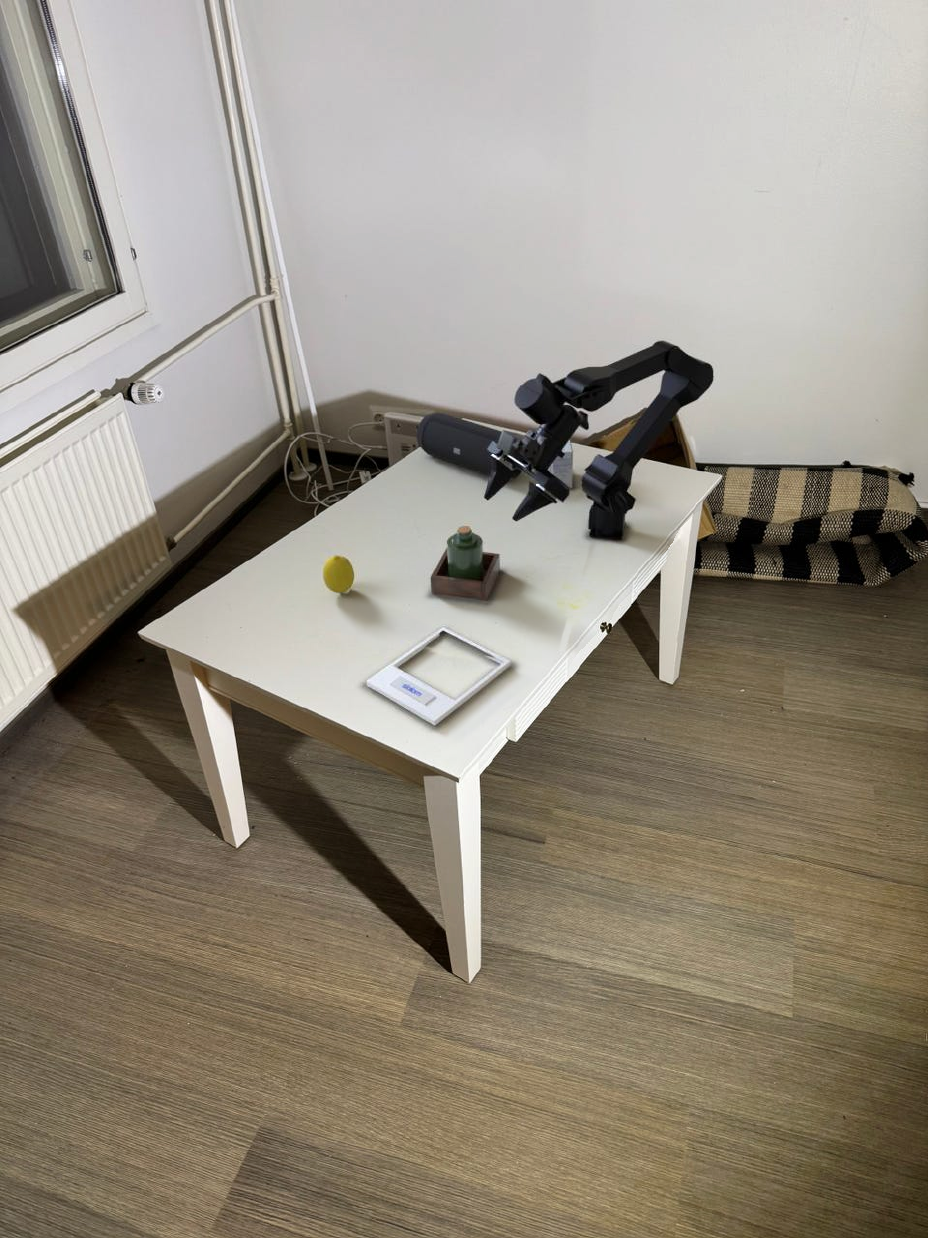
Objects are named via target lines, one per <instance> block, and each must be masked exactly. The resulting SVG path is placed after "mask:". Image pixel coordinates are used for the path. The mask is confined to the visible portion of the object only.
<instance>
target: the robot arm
mask: <svg viewBox="0 0 928 1238" xmlns="http://www.w3.org/2000/svg"><path fill="white" fill-rule="evenodd" d="M661 372H664V373H663V374H662V376H661V382H660V389H659V392H658V394H657V395H656V396H655V397H654V398H653V400H652V401H651V403H650V404H649V405H648V407H647V408H646V409H645V410H644V412H643V413H642V414H641V416H640V417H639V418H638V419H637V421H636V422H635V423H634V425H633V426H632V427H631V428H630V429H629V431H628V432H627V433H626V435H624V438H623V439H622V440H621V441H620V442H619V444H618V445H617V447H616V448H615V449H614V450H613V452H612V453H609V454H607V455H606V456H603V455H602V454H600V453H598V454H597V455H595V456H594V458H593V459H592V461H591V462H590V464H589V465H588V466H586V468H584V474H583V475H582V477H581V479H580V481H581V485H580V486H581V491H582V492H583V493H584V494H585V496H586V499H587V500H590V501H592V505H591V506H590V508H589V511H588V524H587V526H588V527H587V529H588V530H589V533H588V537H590V538H597V539H604V540H605V539H606V540H614V541H622V540H623V537H624V534H625V530H626V527H627V522H626V514H628V512H629V511H631V510H633V509H634V506H635V503H636V502H637V501H636V499H637V498H636V497H635V496H634V495H632V494H631V493H630V492H629V491H628V490H629V489H630V487H631V486H632V485H631V484H632V478H633V473H634V469H635V467H636V466H637V465H638V463H639V462H640V461H641V460H642V458H643V457H644V456H645V454H646V453H647V452H648V451H649V450H650V448H651V447H652V446H653V444H654V443H655V442H656V440H657V439H658V438H659V436H660V435H662V433H663V431H664V430H666V428H667V426H668V425H669V424H670V423H671V421H672V420H673V419H674V417H675V416H676V415H677V414H678V412H679V411H680V410H681V409H682V408H684V407H685V406H687V405H691V404H692V403H694V402H696V401H697V400H699V399H700V398H701V397H702V396H703V395H704V394H705V392H707V391H708V390H709V389H710V387H712V384H713V382H714V378H715V376H714V368H713V365H711V364H710V363H709V362H706V361H704V360H702V359H699V358H697V357H694V356H692V355H689V354H688V353H687V352H685V351H684V350H683V349H681V348H680V347H679V346H678V345H675V344H673V343H671V342H669V341H666V340H663V339H662V340H657V341H655V342H654V343H653V344H652V345H651V346H648V347H645V348H644V349H641V350H639V351H637V352H634V353H632V354H630V355H627V356H625V357H623V358H621V359H619V360H617V361H614V362H612V363H610V364H607V365H603V366H586V367H581V368H577V369H573V370H572V371H570V372H569V373H568V374H566V376H565V377H562V378H560V379H558V380H556V381H553V382H552V380H551V379H550V378H549V377H547V375H544V374H542V373H537V375H536V377H535V378H531V379H528V380H526V381H525V382H524V383H523V384H520V385H519V387H517V390H516V392H515V394H514V398H513V400H514V401H513V402H514V405H515V406H516V407H517V408H518V409H519V410H520V411H521V412H523V413H524V414H525V415H526V416H527V417H528V418H529V419H531V420H532V421H533V422H534V423H535V424H537V425H539V426H538V427H537V429H536V430H534V429H533V428H531V429H529V430H527V432H526V433H525V434H521V433H518V432H513V431H510V430H506V429H505V430H504V429H503V430H501V431H502V433H501V436H500V439H498V440H495V441H492V443H491V444H490V446H489V447H488V448H487V450H488V451H489V452H491V453H492V454H493V455H490V454H489V458H490V459H491V464H492V470H491V475H489V478H488V482H487V485H486V488H485V492H484V495H483V499H484V500H485V501H489V500H491V499H492V498H493V497H495V495H497V493H499V492H500V491H501V490H502V489H503V488H504V487H505V485H507V484H508V483H509V482H510V481H511V480H512V478H513V477H514V476H515V475H516V473H514V472H513V471H512V470H511V468H512V469H514V470H516V469H519V470H521V471H522V472H521V473H524V474H526V475H527V476H529V477H530V478H531V479H533V482H534V483H533V482H532V481H530V480H529V481H528V491H527V493H526V494H525V496H524V498H523V499H522V501H520V502H521V503H519V506H518V507H517V509H516V510H515V511H514V514H513V516H512V518H511V519H512V520H513V521H514V522H518V521H520V520H522V519H524V518H526V517H528V516H529V515H531V514H533V513H534V512H536V511H538V510H540V509H543V508H544V507H547V506H549V505H551V504H555V505H557V503H558V501H560V502H561V503H564V502H565V501H566V500H567V498H569V495H570V491H571V490H570V489H571V488H570V487H568V486H567V485H566V484H565V483H564V482H562V481H561V480H560V479H559V478H557V477H556V476H555V475H553V474H552V473H551V472H550V466H551V465H552V463H553V462H554V461H555V459H556V458H557V456H558V457H560V458H563V456H564V455H565V453H564V452H562V449H563V448H564V447H565V445H566V444H567V442H568V441H569V440H571V438H572V437H573V436H574V434H575V433H576V432H577V430H578V429H579V428H581V429H583V430H585V431H588V430H589V429H590V423H589V414H588V413H593V412H596V411H598V410H599V409H601V408H603V407H604V406H605V405H607V404H609V403H610V402H611V401H612V400H613V399H614V397H615V396H616V394H617V393H618V392H619V391H622V390H623V389H625V388H627V387H630V386H633V385H634V384H637V383H639V382H641V381H643V380H646V379H647V378H649V377H653V376H655V375H657V374H659V373H661ZM578 409H583V410H584V411H583V410H578ZM585 411H586V412H588V413H586V412H585ZM524 464H525V465H524ZM533 470H534V471H533ZM513 479H514V478H513ZM535 483H536V484H535ZM557 500H558V501H557Z"/></svg>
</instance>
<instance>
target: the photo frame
mask: <svg viewBox="0 0 928 1238" xmlns="http://www.w3.org/2000/svg"><path fill="white" fill-rule="evenodd" d="M441 632H446V633H447V634H449V635H451V636H454V637H455V638H457V639H459V640H461V641H463V642H465V643H467V644H469V645H471V646H473V647H475V648H477V649H479V650H481V651H483V652H485V653H486V654H488V655H486V654H483V656H484V657H486V658H488V659H490V660H492V661H494V662H496V663H497V664H499V665H498V666H497V667H496V668H494V669H493V670H491V672H489V673H488V674H487V675H486V676H484V677H483V678H482V679H480V680H479V681H478V682H476V683H475V684H473V685H472V687H470V688H469V689H468V690H466V691H465V692H464V693H463V694H461V695H460V696H459V697H457V698H456V699H453V698H452V697H449V696H448V695H446V694H445V693H442V692H441V691H439V690H437V689H435V688H434V687H432V686H430V685H428V684H426V683H425V682H423V681H421V680H419V679H418V678H415V677H414V676H412V675H411V674H409V673H407V672H405V671H403V670H402V669H400V668H399V667H400V666H401V665H403V664H404V663H406V662H407V661H408V660H410V659H411V658H413V657H414V656H415V655H417V654H419V653H420V652H421V651H423V650H424V649H425V648H427V645H429V644H430V643H432V642H433V641H434V640H436V639H437V638H439V637H440V636H441V635H440V633H441ZM510 666H511V660H509V659H507V658H505V657H503V656H501V655H500V654H497V653H495V652H493V651H492V650H489V649H488V648H485V647H483V646H481V645H479V644H478V643H475V642H473V641H472V640H471V639H470V640H469V639H467V638H465V637H464V636H461V635H460V634H458V633H456V632H454V631H452V630H450V629H448V628H446V627H444V626H442V627H440V628H439V629H438V630H437V631H435V632H434V633H432V634H431V635H429V636H428V637H426V638H425V639H424V640H422V641H421V642H419V643H417V644H416V645H415V646H413V648H412V647H411V649H410V650H408V651H407V652H405V653H403V655H401V656H400V657H398V658H397V659H395V660H394V661H392V662H391V663H389V664H388V665H387V666H386V667H384V668H383V669H381V670H379V671H378V672H377V673H375V674H374V675H372V676H371V677H370V678H368V679H367V680H366V686H367V687H369V688H370V689H372V690H374V691H376V692H377V693H379V694H380V695H382V696H384V697H386V698H387V699H389V700H391V701H392V702H394V703H396V704H398V705H399V706H401V707H402V708H404V709H406V710H408V712H411V713H412V714H414V715H416V716H417V717H419V718H421V719H423V720H424V721H426V722H428V723H429V724H431V725H433V726H437V725H438V724H440V722H442V721H443V720H444V719H445V718H447V717H448V716H450V714H451V713H453V712H454V711H455V710H456V709H458V708H459V707H460V706H461V705H463V704H464V703H465V702H467V701H468V700H469V699H471V697H473V696H474V695H475V694H477V693H478V692H479V691H480V690H482V689H483V688H484V687H486V686H487V685H489V683H491V682H492V681H493V680H494V679H496V678H497V677H498V676H499V675H500V674H501V673H503V672H504V671H505V670H507V669H508V668H509V667H510Z"/></svg>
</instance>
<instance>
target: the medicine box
mask: <svg viewBox="0 0 928 1238" xmlns="http://www.w3.org/2000/svg"><path fill="white" fill-rule="evenodd" d="M562 452H564V453H565V455H564V456H563V458H560V457H558V456H557V458H556V459H555V461H554V462H553V463H552V465H551V466H550V467H549V472H551V473H552V474H553V475H555V476H556V477H557V478H559V479H560V480H561V481H562V482H564V483H565V484H566V485H567V486H568V487H570V489H572V488H573V474H574V472H573V471H574V469H573V468H574V451H573V445H572V441H571V439H570V440H569V441H568V442H567V444H566V445H565V447H564V448H563V449H562Z"/></svg>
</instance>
